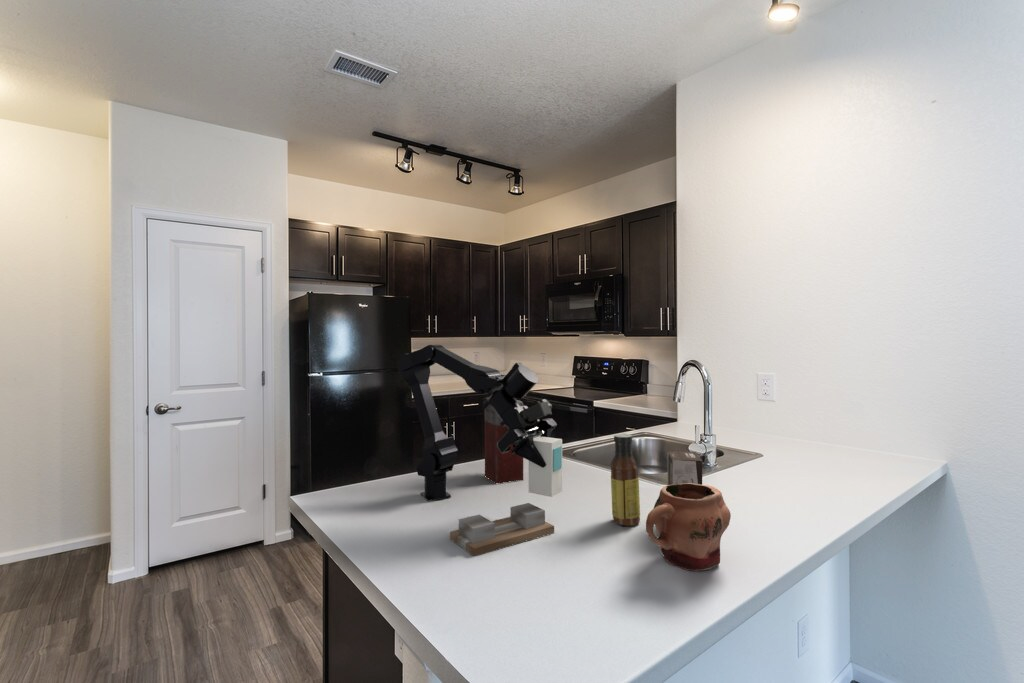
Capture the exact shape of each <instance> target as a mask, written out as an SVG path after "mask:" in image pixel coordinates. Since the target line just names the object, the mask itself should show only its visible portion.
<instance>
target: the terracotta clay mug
mask: <svg viewBox="0 0 1024 683" xmlns="http://www.w3.org/2000/svg"><path fill="white" fill-rule="evenodd" d="M731 517H732V516H731V511H730V509H729V508H728V506H727V503H726V502H725V500H724V497H723V493H722V492H721V490H719V489H718V488H716V487H714V486H711V485H708V484H702V485H700V484H693V483H684V484H673V485H668V484H667V485H665V486H663V487H661V490H660V491H659V496H658V497H657V499H656V501H655V503H654V507H653V508H652V509H651V510H650V511H649V513H648V514H647V516H646V521H645V532H646V533H647V535H648V537H649V538H650V540H651V541H652V542H654V543H655V545H657V547H658V546H659V547H660V551H661V553H662V556H663V558H664V559H665V560H666V561H667V562H668V563H669V564H671V565H673V566H675V567H678V568H681V569H684V570H688V571H698V572H699V571H707V570H711V569H713V568H715V567H717V566H718V565H719V564H721V539H722V536H723V534H724V532H726V530H727V529H728V527H729V525H730V522H731ZM654 527H655V529H656V533H657V534H658V536H656V535H655V532H654Z"/></svg>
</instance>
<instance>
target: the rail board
mask: <svg viewBox="0 0 1024 683" xmlns="http://www.w3.org/2000/svg"><path fill="white" fill-rule="evenodd" d="M509 511H510V512H509V513H510V514H509V515H510V516H508V517H504V518H500V519H496V520H490V519H488V518H487V517H484V516H483V515H481V514H475V515H471V516H467V517H464V518H459V519H458V529H457V530H451V531H450V532H449V539H450V540H451V541H452V540H453V541H454V543H455V544H456V543H457V546H459V545H460V546H461V547H460V546H459V547H460V548H462V547H463V548H464V549H463V548H462V549H463V550H465V551H466V552H467V551H468V553H469V554H470V555H472V556H473V557H477V556H479V555H483V553H484V554H487V553H490V552H494V551H497V550H500V549H499V548H501V549H504V548H507V547H506V546H508V547H510V546H509V545H511V546H513V545H512V544H515V545H517V544H516V543H518V544H521V543H524V541H525V542H527V541H526V540H528V541H532V540H534V538H535V539H538V538H537V537H539V538H541V537H540V536H542V537H544V536H543V535H545V536H547V534H549V535H551V534H550V533H552V534H554V533H555V525H554V524H551V523H550V522H547V521H546V510H545V509H543V508H540V507H539V506H537V505H534V504H532V503H529V502H526V503H522V504H518V505H514V506H511V507H510V510H509ZM531 539H532V540H531ZM453 541H452V542H453ZM520 542H521V543H520ZM503 547H504V548H503ZM496 549H497V550H496ZM493 550H494V551H493ZM486 552H487V553H486Z"/></svg>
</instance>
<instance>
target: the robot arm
mask: <svg viewBox="0 0 1024 683" xmlns="http://www.w3.org/2000/svg"><path fill="white" fill-rule="evenodd" d="M436 364H437V365H439V366H440V367H443V368H444V369H446V370H448V371H450V372H452V373H453V374H454V375H457V376H458V377H460V378H462V379H463V381H465V383H466V385H467V386H468V388H470V389H471V390H473V392H475V393H476V394H478V395H479V394H480V395H482V394H483V395H484V394H489V393H491V395H489V396H487V397H484V398H483V403H482V405H483V406H482V409H483V410H485V409H489V408H493V409H494V410H495V412H496V413H497V414H498V416H499V417H500V418H501V420H502V422H501V423H500V424H501V426H502V427H504V426H507V428H508V429H509V430H508V431H507V432H506V433H505V434H504V435H503V436H502V437H501V438H500V439H499V440H498V441H497V448H498V449H499V450H500V452H501V453H502V454H504V453H506V452H509V451H510V446H511V445H512V444H513V447H514V449H513V450H512V451H511V453H512V454H517V455H519V456H521V457H523V459H525V460H527V461H528V462H529V461H531V462H533V463H535V464H537V465H538V466H540V467H542V468H544V467H545V466H546V463H545V461H544V459H543V458H542V456H541V454H540V453H539V451H538V450H537V448H536V447H535V445H534V441H533V438H536V437H539V436H542V437H550V438H551V433H552V432H553V430H554V429H555V428H556V427H557V425H558V424H557V422H556V421H555V420H554V419H553V418H549V417H548V418H544V417H546V416H552V415H553V413H552V408H553V404H551V403H550V401H549V400H547V399H546V398H544V399H541V400H538V401H536V404H534V405H532V406H529V407H528V406H527V405H523V406H521V405H520V404H519V403H518V401H517V400H518V399H523V398H525V396H526V395H528V393H529V392H530V391H531V390H532V389H533V388H534V387H535V386H536V384H537V383H538V382H539V377H538V375H537V374H536V372H535V371H533V370H531V369H530V368H529V367H527V366H525V365H523V363H522V362H515V363H514V364H513V366H512V367H511V369H510V370H509V371H508V372H507V373H506V375H505V374H502V372H500V371H499V370H498V369H496V368H492V367H490V366H485V365H480V364H479V365H478V364H475V363H473V362H471V361H469V360H468V359H466V358H464V357H462V356H460V355H459V354H456V353H455V352H453V351H451V350H449V349H447V348H446V347H444V346H443V345H441V344H427V345H426V346H424V347H422V348H421V349H417V350H415V351H412V352H409V353H403V354H401V355H400V356H399V358H398V360H397V362H396V367H397V370H398V373H399V375H400V377H401V379H402V380H403V382H405V383H406V385H407V386H408V387H409V388H410V391H411V395H412V398H413V401H414V404H415V408H416V410H417V414H418V418H419V422H420V425H421V428H422V431H423V435H424V443H423V449H422V452H423V459H422V461H420V462H419V464H418V465H417V466H416V467H415V468H416V472H417V475H418V476H420V477H423V478H424V480H423V481H424V491H422V492H419V495H420V496H422V497H423V499H425V500H426V501H428V502H430V501H436V500H442V499H448V498H451V497H452V495H451V494H450V493H449V492H448V491H447V473H449V472H451V471H453V468H454V465H455V463H456V462H457V459H458V453H457V452H458V451H459V450H458V448H457V446H456V442H455V438H454V436H449V437H448V436H447V434H446V433H445V432H444V430H443V427H442V422H441V421H440V417H439V414H438V410H437V406H436V404H435V400H434V397H433V393H432V391H431V387H430V384H429V378H430V376H431V368H430V367H432V366H434V365H436ZM501 386H503V387H502V388H501ZM500 388H501V389H500ZM499 389H500V390H499ZM541 418H544V419H541ZM540 419H541V420H540Z"/></svg>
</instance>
